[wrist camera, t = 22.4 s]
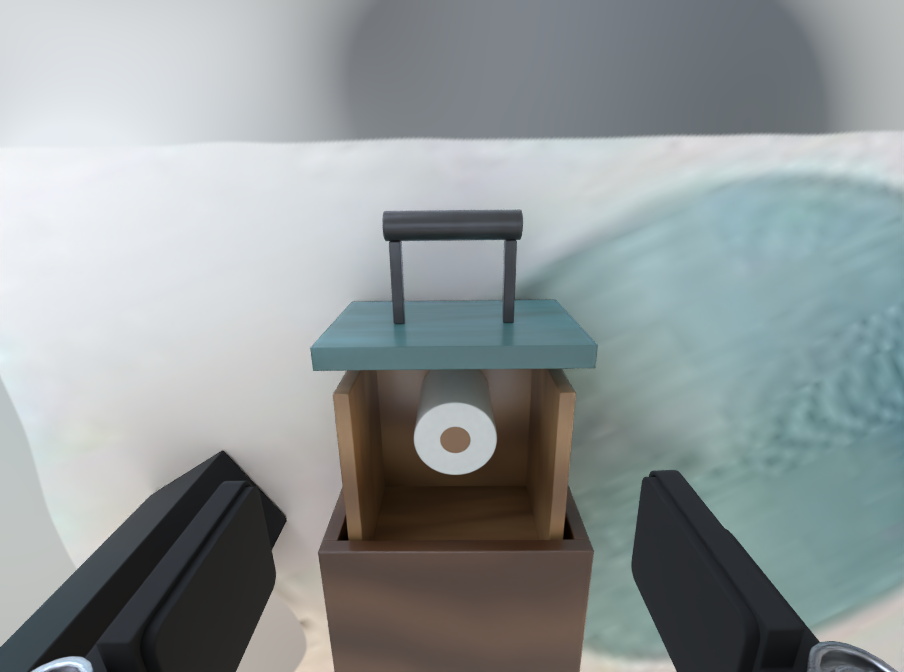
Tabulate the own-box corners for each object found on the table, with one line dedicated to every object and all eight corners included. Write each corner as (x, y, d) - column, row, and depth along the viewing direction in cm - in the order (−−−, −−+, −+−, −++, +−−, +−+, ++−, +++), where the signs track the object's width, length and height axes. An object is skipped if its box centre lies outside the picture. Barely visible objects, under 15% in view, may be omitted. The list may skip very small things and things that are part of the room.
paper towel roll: (488, 421, 30) (496, 475, 25) (422, 421, 30) (415, 476, 25) (489, 360, 29) (498, 402, 23) (420, 360, 29) (411, 403, 23)
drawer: (343, 207, 27) (293, 216, 19) (562, 205, 27) (611, 212, 18) (367, 485, 33) (338, 584, 25) (543, 484, 33) (573, 583, 25)
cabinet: (358, 441, 33) (317, 552, 23) (551, 440, 33) (594, 550, 23) (373, 597, 38) (344, 743, 28) (540, 596, 38) (571, 743, 28)
